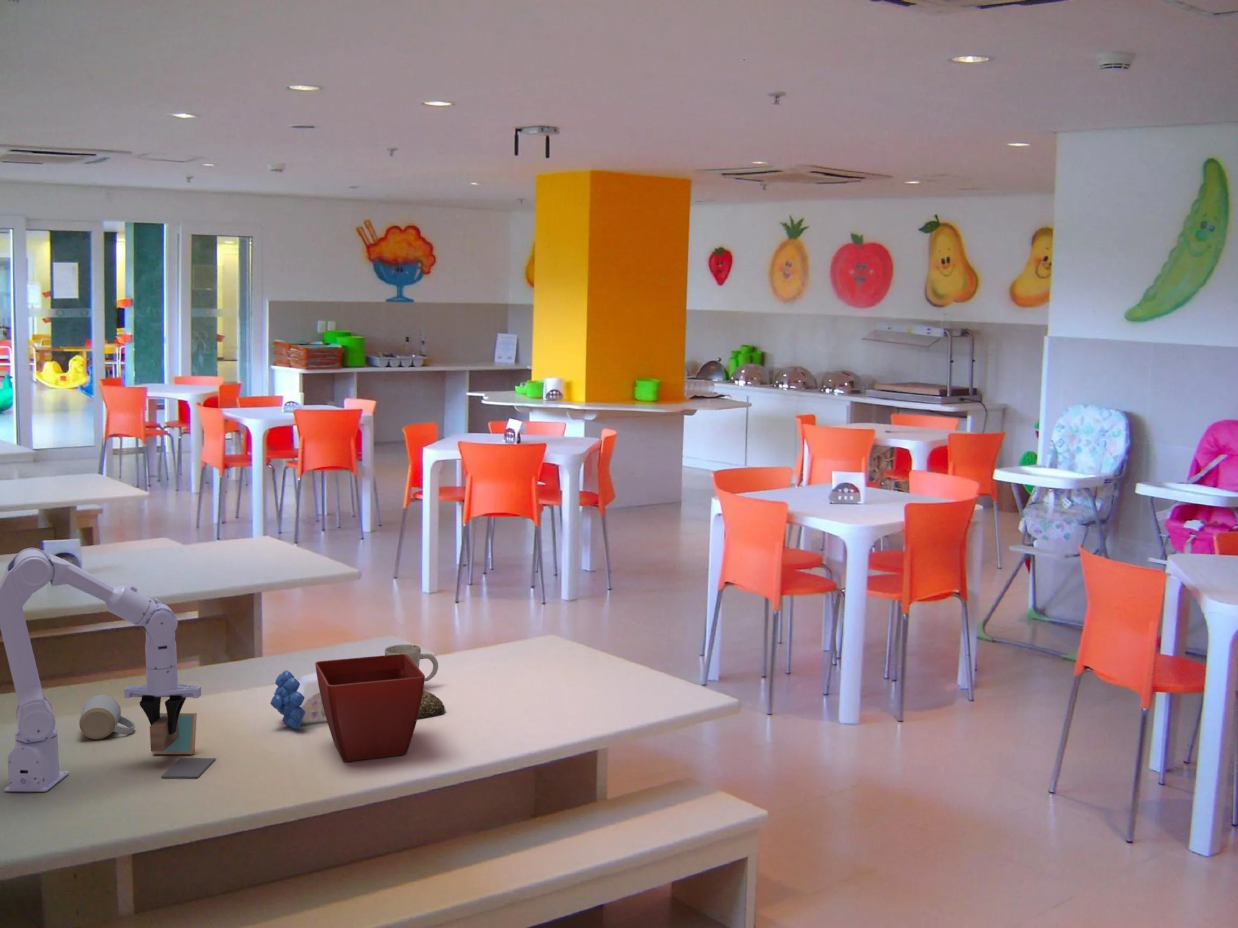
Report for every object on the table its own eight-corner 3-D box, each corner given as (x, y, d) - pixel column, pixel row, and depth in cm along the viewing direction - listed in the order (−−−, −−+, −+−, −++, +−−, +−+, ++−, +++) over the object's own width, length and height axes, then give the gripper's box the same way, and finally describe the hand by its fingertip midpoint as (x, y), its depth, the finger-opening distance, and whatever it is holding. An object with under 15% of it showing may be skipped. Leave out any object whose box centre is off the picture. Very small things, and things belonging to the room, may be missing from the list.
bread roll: (448, 717, 277) (448, 695, 277) (393, 723, 273) (392, 701, 272) (435, 700, 289) (435, 679, 289) (381, 706, 285) (381, 685, 284)
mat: (197, 778, 240) (197, 776, 240) (161, 778, 240) (161, 776, 240) (215, 759, 250) (215, 757, 250) (180, 759, 250) (180, 757, 250)
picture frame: (191, 754, 252) (193, 713, 253) (151, 753, 252) (154, 713, 254) (194, 753, 254) (196, 713, 255) (155, 753, 254) (157, 712, 255)
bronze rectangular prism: (163, 751, 245) (162, 726, 244) (150, 751, 245) (149, 726, 244) (178, 737, 253) (177, 713, 252) (166, 737, 253) (165, 713, 252)
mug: (381, 687, 298) (380, 646, 297) (433, 681, 304) (432, 640, 302) (390, 697, 291) (389, 655, 290) (443, 690, 296) (442, 648, 295)
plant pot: (408, 728, 269) (406, 651, 267) (427, 758, 251) (426, 675, 249) (316, 739, 262) (314, 660, 260) (330, 770, 244) (327, 686, 242)
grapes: (260, 723, 272) (258, 669, 271) (290, 717, 276) (288, 664, 275) (281, 737, 263) (280, 681, 262) (312, 731, 267) (310, 676, 266)
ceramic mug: (78, 742, 260) (77, 706, 259) (83, 730, 268) (82, 695, 267) (133, 738, 263) (132, 703, 262) (136, 726, 271) (135, 691, 270)
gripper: (205, 659, 251) (208, 726, 252) (133, 659, 251) (136, 725, 253) (192, 669, 244) (195, 737, 245) (118, 669, 244) (121, 737, 246)
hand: (164, 732), depth 248 cm, fingers closed on bronze rectangular prism, 2 cm apart
